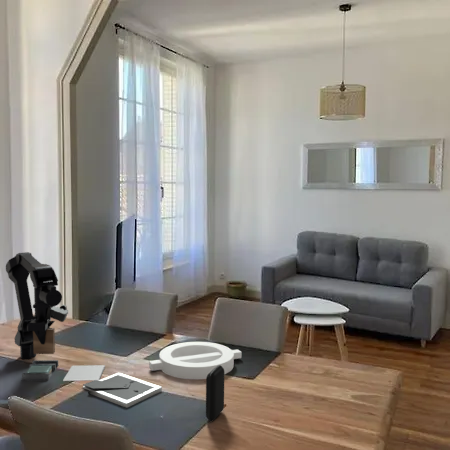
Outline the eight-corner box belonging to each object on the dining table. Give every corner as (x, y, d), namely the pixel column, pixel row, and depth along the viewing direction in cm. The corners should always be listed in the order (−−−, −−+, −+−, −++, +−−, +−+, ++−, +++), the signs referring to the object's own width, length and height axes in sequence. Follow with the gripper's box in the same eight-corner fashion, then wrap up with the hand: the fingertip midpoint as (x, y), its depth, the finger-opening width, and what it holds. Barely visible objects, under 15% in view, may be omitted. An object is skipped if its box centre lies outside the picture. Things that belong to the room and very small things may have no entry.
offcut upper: (31, 368, 184) (31, 365, 183) (51, 368, 184) (51, 365, 184) (26, 375, 178) (26, 372, 177) (47, 374, 178) (47, 371, 178)
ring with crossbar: (145, 372, 187) (145, 360, 187) (180, 349, 213) (180, 338, 213) (216, 385, 177) (216, 371, 176) (243, 359, 203) (244, 347, 202)
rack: (33, 367, 190) (33, 359, 189) (58, 367, 190) (58, 359, 190) (21, 383, 175) (21, 375, 175) (48, 383, 176) (48, 374, 176)
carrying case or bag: (217, 407, 159) (218, 361, 158) (226, 409, 158) (227, 362, 156) (204, 422, 149) (204, 373, 148) (213, 424, 148) (214, 375, 147)
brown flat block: (35, 352, 187) (34, 328, 186) (54, 352, 188) (54, 327, 187) (33, 354, 185) (33, 329, 184) (53, 353, 186) (52, 329, 185)
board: (72, 368, 190) (71, 365, 189) (105, 367, 190) (104, 365, 190) (62, 383, 176) (62, 380, 176) (98, 382, 177) (98, 380, 176)
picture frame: (82, 392, 170) (126, 410, 158) (82, 384, 170) (126, 401, 158) (118, 378, 183) (161, 392, 171) (118, 370, 183) (161, 384, 170)
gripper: (59, 307, 176) (60, 351, 177) (71, 294, 194) (72, 335, 196) (25, 307, 175) (27, 351, 177) (41, 294, 194) (42, 335, 195)
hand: (43, 343), depth 186 cm, fingers closed on brown flat block, 2 cm apart
